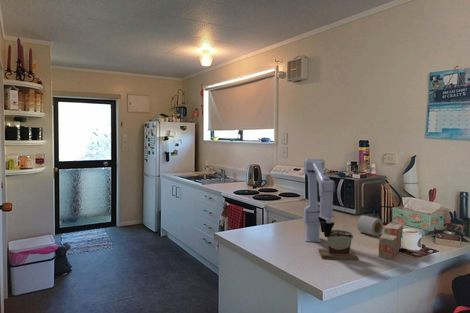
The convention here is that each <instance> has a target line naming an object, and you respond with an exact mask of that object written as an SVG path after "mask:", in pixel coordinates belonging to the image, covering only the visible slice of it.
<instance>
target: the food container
mask: <svg viewBox="0 0 470 313" xmlns="http://www.w3.org/2000/svg"><path fill="white" fill-rule="evenodd" d="M353 238H354V235H353V233H352V232H351V231H347V230H344V229H343V230H342V229H332V230H331V234H330V237H326V239H327V249H328V252H329V254H338V255H349V254H350V250H351V245H352V241H353V240H352V239H353Z"/></svg>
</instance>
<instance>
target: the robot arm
mask: <svg viewBox="0 0 470 313" xmlns="http://www.w3.org/2000/svg"><path fill="white" fill-rule="evenodd" d="M303 163H304V164H303V165H304V167H303V171H304V174H305V175H306V176H307V182H308V183H307V184H308V187H307V188H308V190H307V192H308V197H307V198H308V205H307V206H305V207H304V208H303V214H302V221H303V222H304V223H305V235H303V237H304V239H305V242H307V243H309V242H310V243H312V242H313V243H321V242H322V240H321V238H320V233H323V235H324V238H327V237H330V234H331V230H333V228H334V226H335V222H334V221H333V222H332V220H333V218H336V215H335V214H333V207H334V206H333V204H334V202H333V201H334V193H335V190H336V184H335V183H336V182H335V180H333V179H330V176H329V175H328V172H326V171H325V166H326V165H325V160H324V158H305V159H304V162H303ZM318 191H319V194H318ZM318 195H319V199H320V200H319V205H318ZM320 230H321V232H320Z"/></svg>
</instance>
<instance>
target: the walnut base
mask: <svg viewBox="0 0 470 313" xmlns="http://www.w3.org/2000/svg"><path fill="white" fill-rule="evenodd" d="M317 250H318V251H319V252H318V254H319V253H320V254H319V256H320V258H321V259H322V260H323V259H324V260H342V261H343V260H344V261H346V260H347V261H350V260H351V261H358V260H359V256H357V254H356V253H355V251H354V250H353V249H350V254H349V255H338V254H329V252H328V248H321V247H320V248H319V247H318V249H317Z"/></svg>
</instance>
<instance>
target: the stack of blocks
mask: <svg viewBox="0 0 470 313" xmlns="http://www.w3.org/2000/svg"><path fill="white" fill-rule="evenodd" d="M403 227H404V225H403V224H401V223H393V222H389V223H387V224H386V225H385V226H383V233H382V234H381V236H380V237H379V241H378V257H379V258H383V259H387V258H388V259H387V260H393V259H394V258H395V257H396V256H397V254H398V253H399V252H400V251H399V249H400V247H401V238H402V239H403V234H402V232H403V231H404V230H403ZM398 251H399V252H398ZM397 252H398V253H397ZM395 255H396V256H395Z"/></svg>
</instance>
